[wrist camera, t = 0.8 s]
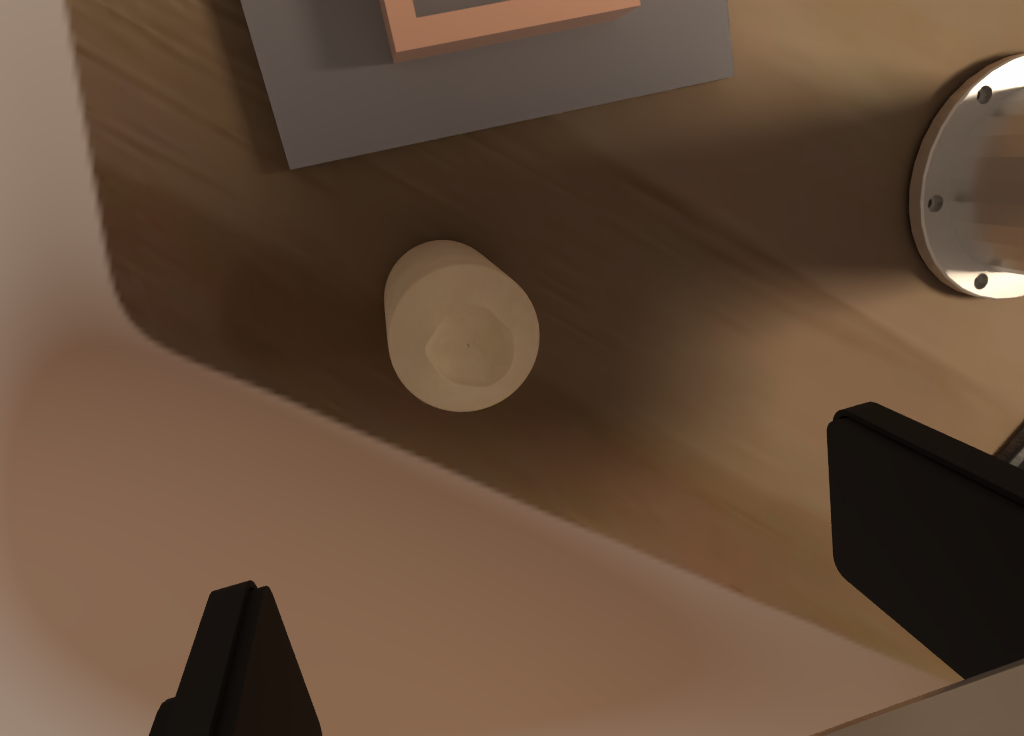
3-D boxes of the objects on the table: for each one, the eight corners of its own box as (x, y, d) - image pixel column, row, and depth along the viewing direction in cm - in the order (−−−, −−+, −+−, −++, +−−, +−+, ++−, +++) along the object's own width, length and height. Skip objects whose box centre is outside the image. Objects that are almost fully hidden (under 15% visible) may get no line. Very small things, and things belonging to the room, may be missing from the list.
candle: (375, 343, 33) (376, 415, 23) (394, 227, 32) (403, 255, 22) (486, 360, 34) (530, 435, 25) (509, 250, 33) (565, 286, 23)
